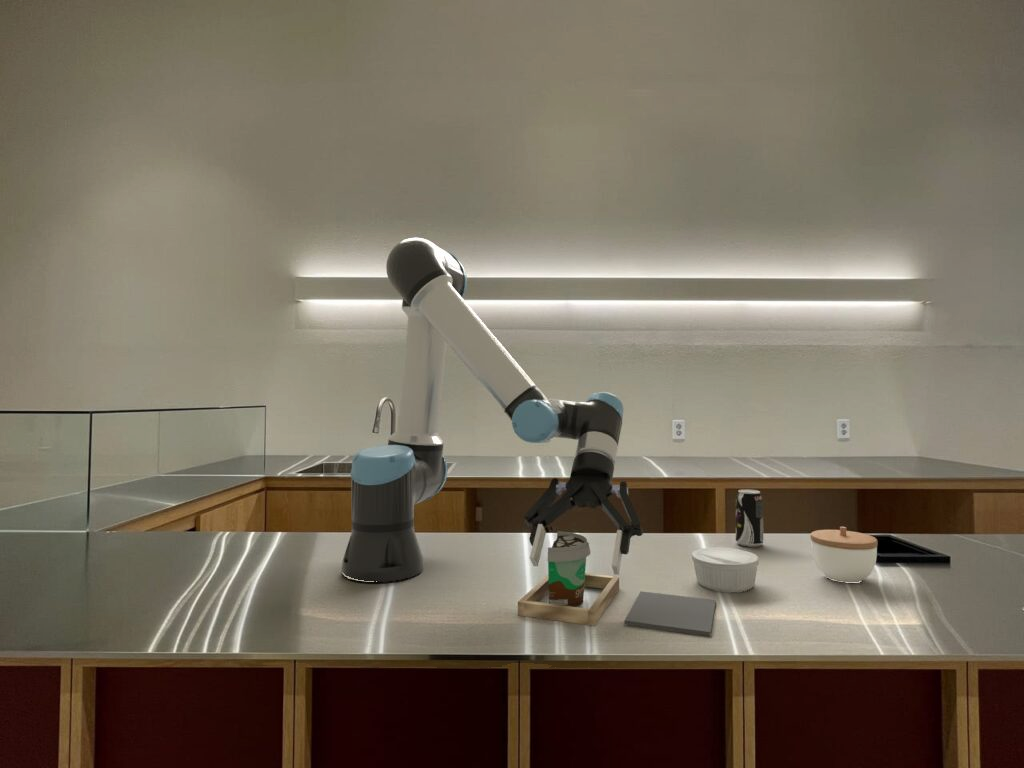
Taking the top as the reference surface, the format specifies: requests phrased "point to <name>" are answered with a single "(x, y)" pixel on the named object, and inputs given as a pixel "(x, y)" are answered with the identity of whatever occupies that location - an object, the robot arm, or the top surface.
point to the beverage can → (749, 518)
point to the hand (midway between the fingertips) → (573, 566)
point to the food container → (567, 569)
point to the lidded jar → (844, 554)
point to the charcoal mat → (672, 613)
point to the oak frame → (567, 613)
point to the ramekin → (725, 569)
